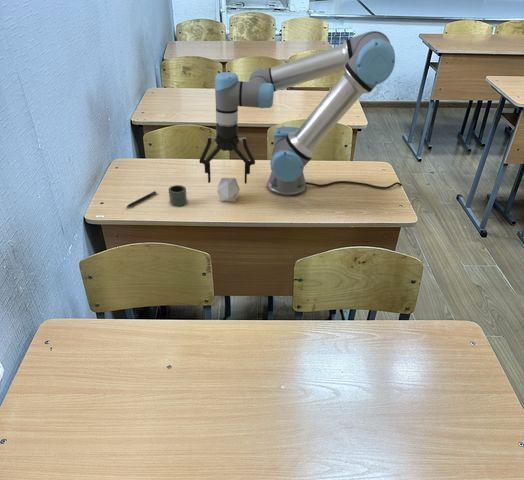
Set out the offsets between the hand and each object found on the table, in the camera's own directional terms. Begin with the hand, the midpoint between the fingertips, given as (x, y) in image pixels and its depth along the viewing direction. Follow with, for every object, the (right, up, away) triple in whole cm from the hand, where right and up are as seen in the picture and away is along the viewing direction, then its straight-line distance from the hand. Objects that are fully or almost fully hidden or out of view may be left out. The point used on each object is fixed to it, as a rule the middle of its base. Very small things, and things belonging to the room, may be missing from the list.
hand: (227, 181), depth 190 cm
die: (0, -5, +5) cm, 7 cm away
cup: (-19, -7, +2) cm, 20 cm away
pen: (-33, -7, +2) cm, 34 cm away
